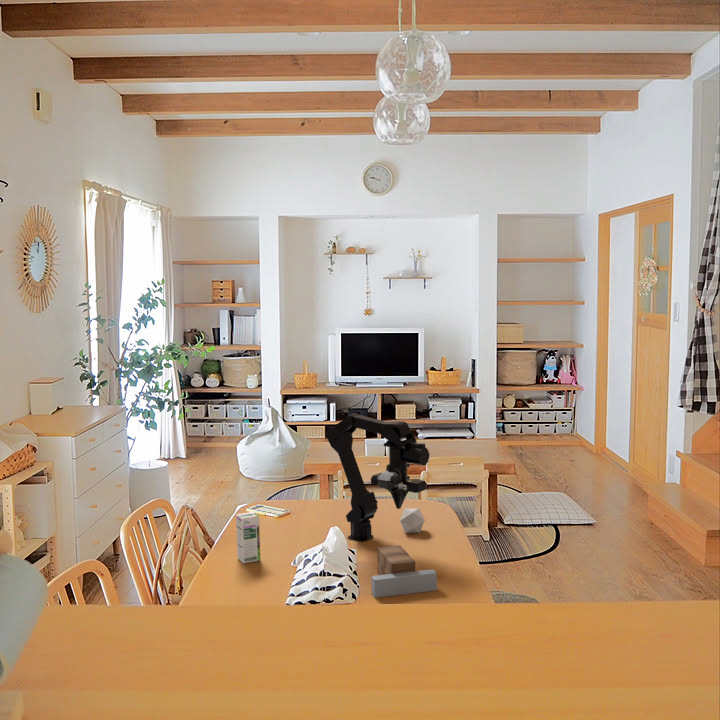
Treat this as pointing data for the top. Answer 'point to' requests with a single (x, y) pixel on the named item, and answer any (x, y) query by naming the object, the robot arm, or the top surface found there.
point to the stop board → (404, 583)
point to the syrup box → (248, 537)
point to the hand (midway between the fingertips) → (398, 508)
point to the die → (412, 520)
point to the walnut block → (394, 560)
